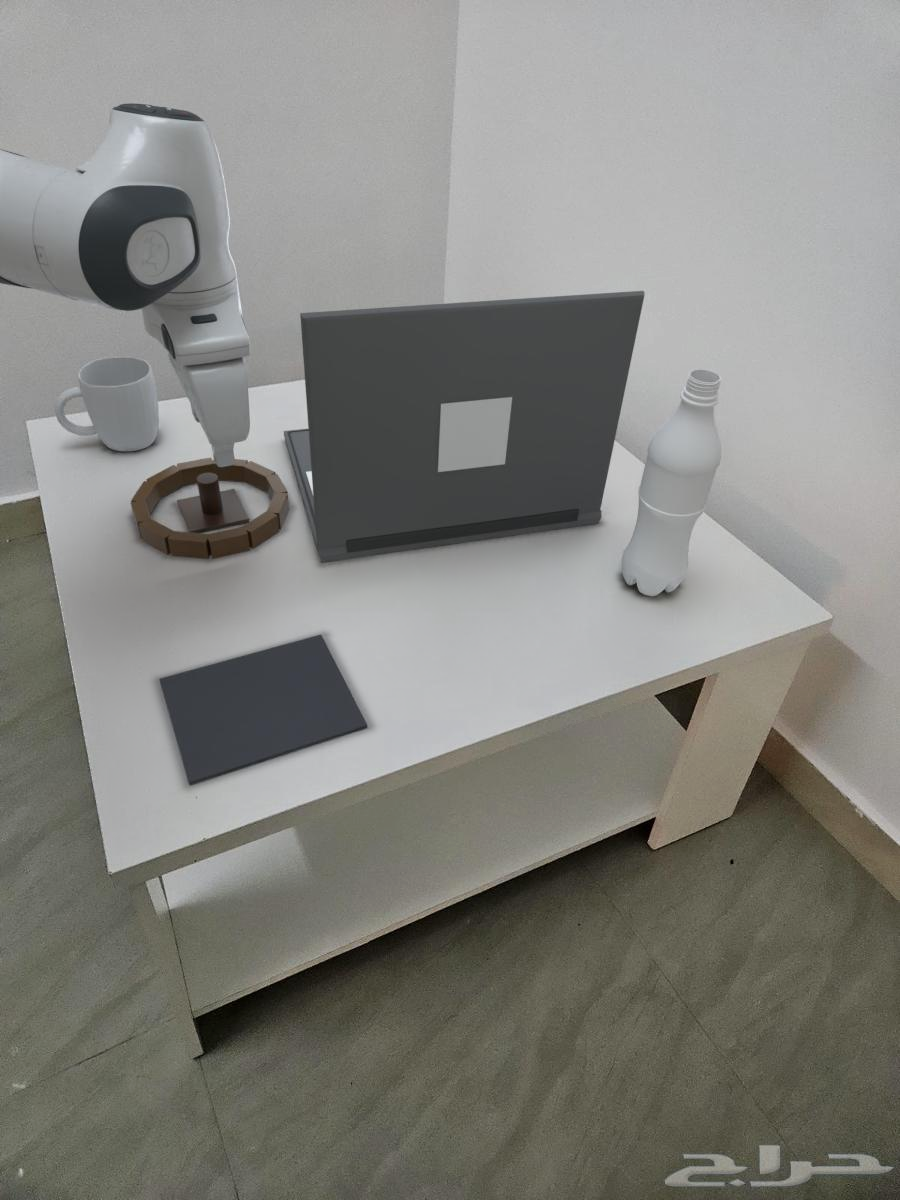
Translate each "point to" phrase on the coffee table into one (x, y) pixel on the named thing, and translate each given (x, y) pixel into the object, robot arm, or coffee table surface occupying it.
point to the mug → (116, 402)
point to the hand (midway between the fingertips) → (213, 440)
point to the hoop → (218, 541)
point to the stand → (212, 507)
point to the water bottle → (674, 488)
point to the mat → (258, 707)
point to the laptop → (459, 419)
